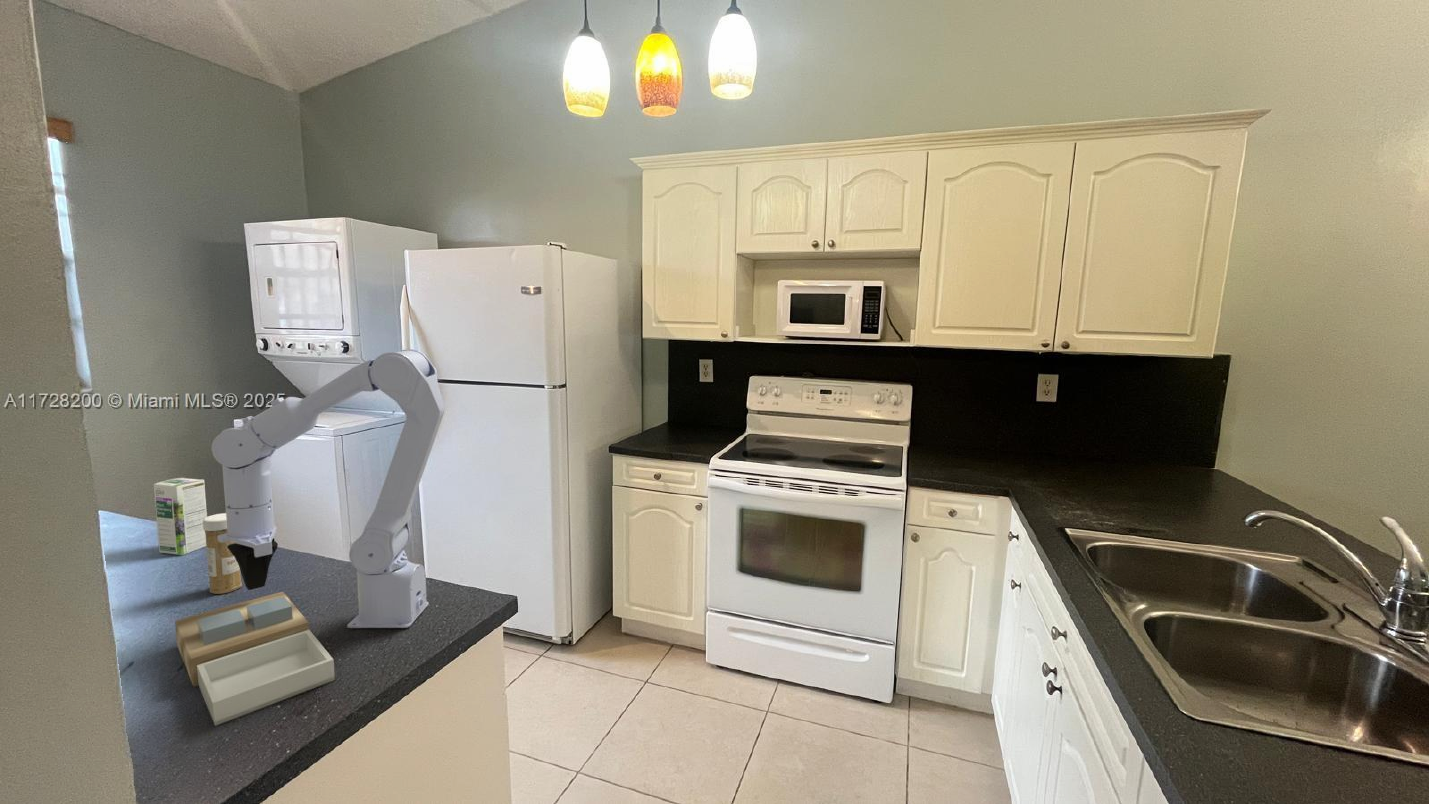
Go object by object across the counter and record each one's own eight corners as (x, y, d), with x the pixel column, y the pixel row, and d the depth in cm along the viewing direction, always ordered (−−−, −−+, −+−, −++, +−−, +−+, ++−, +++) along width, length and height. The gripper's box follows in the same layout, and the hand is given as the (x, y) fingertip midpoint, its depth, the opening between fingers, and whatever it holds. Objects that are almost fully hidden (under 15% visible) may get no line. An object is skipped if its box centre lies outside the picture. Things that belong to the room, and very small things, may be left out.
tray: (198, 686, 76) (196, 665, 76) (310, 648, 86) (309, 629, 85) (214, 726, 69) (212, 703, 69) (334, 680, 79) (333, 659, 78)
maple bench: (177, 646, 85) (174, 620, 85) (284, 614, 95) (282, 591, 95) (193, 687, 76) (190, 658, 76) (310, 647, 86) (308, 622, 86)
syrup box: (157, 553, 117) (150, 483, 115) (188, 542, 123) (182, 476, 121) (181, 556, 116) (174, 485, 114) (211, 545, 122) (205, 478, 120)
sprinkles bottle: (240, 591, 103) (234, 518, 101) (207, 597, 100) (200, 522, 98) (244, 581, 106) (238, 510, 104) (211, 586, 104) (204, 514, 102)
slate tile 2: (247, 619, 86) (246, 606, 86) (284, 608, 89) (283, 596, 89) (254, 630, 83) (253, 617, 83) (292, 618, 86) (291, 606, 86)
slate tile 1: (198, 633, 82) (197, 619, 81) (239, 621, 85) (237, 608, 85) (204, 645, 79) (202, 631, 79) (246, 632, 82) (244, 619, 82)
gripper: (206, 497, 91) (213, 580, 93) (225, 520, 81) (233, 611, 83) (262, 489, 96) (268, 567, 98) (286, 509, 87) (292, 595, 89)
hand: (255, 586), depth 91 cm, fingers closed
